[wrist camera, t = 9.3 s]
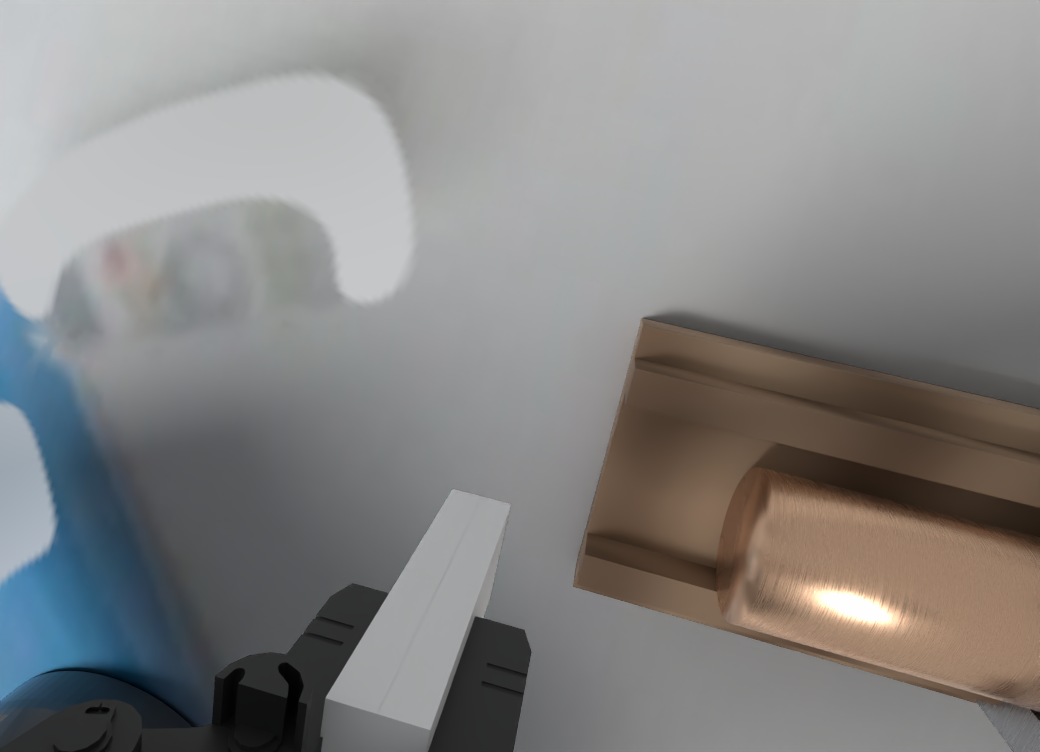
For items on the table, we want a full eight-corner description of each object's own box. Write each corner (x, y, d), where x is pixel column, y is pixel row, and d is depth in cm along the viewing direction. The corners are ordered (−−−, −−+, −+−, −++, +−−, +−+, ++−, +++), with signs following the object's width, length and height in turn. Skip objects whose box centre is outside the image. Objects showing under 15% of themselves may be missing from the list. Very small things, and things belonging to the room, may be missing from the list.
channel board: (576, 563, 22) (569, 611, 20) (641, 318, 19) (644, 333, 17) (1355, 784, 19) (1478, 878, 16) (1569, 530, 16) (1761, 592, 14)
